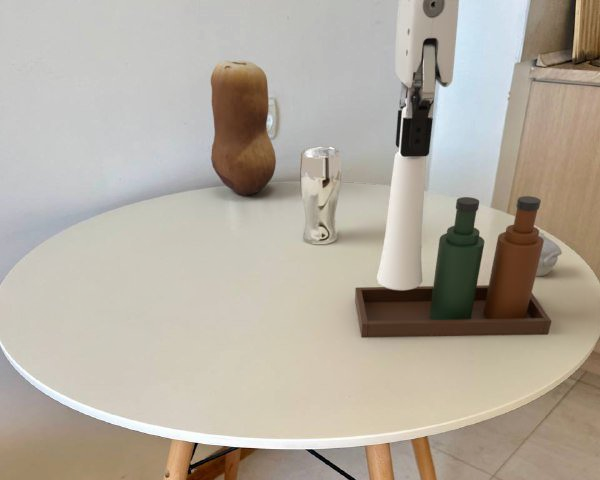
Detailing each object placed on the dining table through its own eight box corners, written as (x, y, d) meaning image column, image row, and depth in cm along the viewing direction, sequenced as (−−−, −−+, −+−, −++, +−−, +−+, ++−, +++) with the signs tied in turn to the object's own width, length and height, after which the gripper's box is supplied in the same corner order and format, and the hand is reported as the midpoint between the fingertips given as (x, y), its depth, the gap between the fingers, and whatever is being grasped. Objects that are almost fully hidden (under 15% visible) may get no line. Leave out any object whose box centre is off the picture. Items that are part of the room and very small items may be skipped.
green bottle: (465, 306, 84) (485, 192, 75) (475, 325, 80) (497, 207, 70) (426, 306, 84) (440, 193, 75) (433, 326, 80) (450, 208, 70)
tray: (522, 301, 87) (526, 284, 85) (546, 339, 78) (552, 320, 76) (354, 304, 87) (355, 287, 85) (361, 342, 78) (362, 323, 77)
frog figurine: (508, 265, 97) (517, 224, 92) (554, 270, 95) (565, 227, 91) (508, 281, 92) (518, 238, 88) (556, 286, 90) (568, 242, 86)
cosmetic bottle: (385, 268, 82) (398, 91, 69) (427, 275, 80) (449, 95, 67) (369, 285, 78) (380, 101, 64) (414, 294, 75) (434, 105, 62)
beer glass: (322, 248, 103) (322, 159, 94) (293, 239, 107) (291, 152, 98) (347, 237, 107) (350, 150, 98) (318, 228, 111) (318, 143, 102)
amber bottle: (518, 305, 84) (544, 191, 75) (530, 324, 80) (560, 206, 70) (479, 305, 84) (500, 192, 75) (489, 325, 80) (513, 207, 70)
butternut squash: (289, 190, 130) (285, 59, 115) (247, 206, 121) (238, 68, 106) (243, 178, 137) (234, 54, 122) (201, 193, 129) (185, 62, 114)
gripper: (490, -48, 51) (459, 171, 62) (450, -47, 64) (430, 133, 75) (403, -46, 51) (388, 172, 62) (381, -46, 64) (372, 134, 75)
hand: (411, 149), depth 69 cm, fingers closed on cosmetic bottle, 3 cm apart
